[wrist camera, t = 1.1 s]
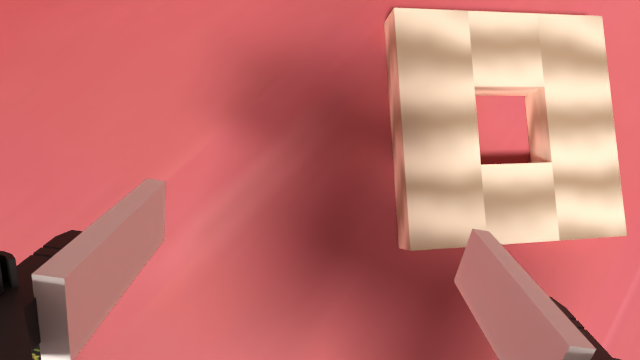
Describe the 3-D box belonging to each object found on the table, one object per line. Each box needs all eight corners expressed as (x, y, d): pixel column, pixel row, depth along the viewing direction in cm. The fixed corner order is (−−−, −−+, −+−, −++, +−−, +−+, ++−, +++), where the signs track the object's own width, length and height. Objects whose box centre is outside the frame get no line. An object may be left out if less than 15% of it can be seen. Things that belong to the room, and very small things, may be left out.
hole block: (601, 234, 42) (626, 235, 39) (398, 247, 38) (410, 250, 35) (579, 29, 44) (601, 16, 41) (384, 22, 40) (394, 7, 37)
